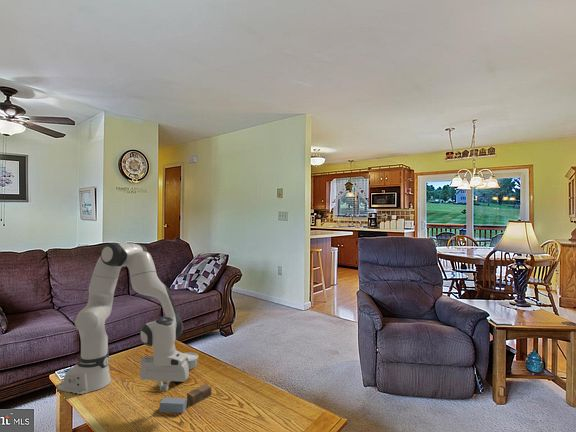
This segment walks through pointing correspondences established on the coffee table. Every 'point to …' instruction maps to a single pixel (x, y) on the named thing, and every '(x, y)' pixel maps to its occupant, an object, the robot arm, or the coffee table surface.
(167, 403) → the slate block
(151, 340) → the robot arm
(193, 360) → the ramekin
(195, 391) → the walnut block
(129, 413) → the coffee table surface
